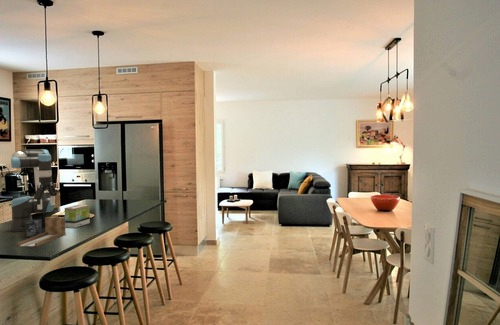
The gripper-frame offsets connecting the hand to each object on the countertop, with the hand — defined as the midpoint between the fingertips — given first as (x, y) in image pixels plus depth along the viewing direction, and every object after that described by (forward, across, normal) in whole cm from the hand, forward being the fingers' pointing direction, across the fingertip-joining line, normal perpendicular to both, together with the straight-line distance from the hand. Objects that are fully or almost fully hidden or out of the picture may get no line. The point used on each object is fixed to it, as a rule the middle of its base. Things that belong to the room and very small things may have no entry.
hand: (46, 207), depth 220 cm
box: (+19, -6, +5) cm, 20 cm away
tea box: (+19, +22, -8) cm, 30 cm away
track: (+18, -17, -7) cm, 26 cm away
